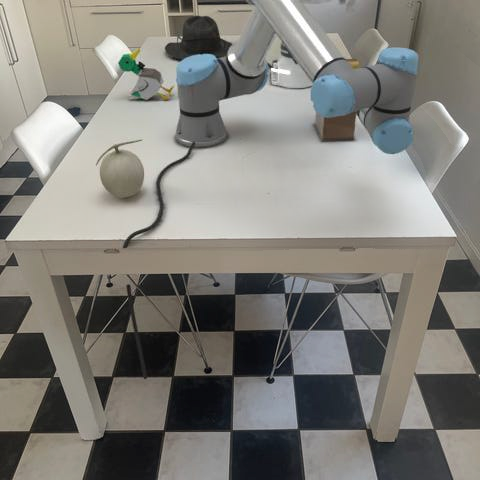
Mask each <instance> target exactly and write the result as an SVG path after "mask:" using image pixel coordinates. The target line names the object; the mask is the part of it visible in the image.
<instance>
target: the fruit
mask: <svg viewBox="0 0 480 480" xmlns="http://www.w3.org/2000/svg"><path fill="white" fill-rule="evenodd" d="M142 141H143V139H137V140H131V141H125V142H120V143H117V144H113V145H112V146H110V147H109V148H108V149H106V150H105V151H104V152H103V153H102V154H101V155H100V156H99V158H98V159H97V160H96V163H95V166H96V167H97V166H98V165H99V163H100V166H99V179H100V181H101V184H102V186H103V188H104V189H105V190H106V192H108V193H109V194H110V195H112V196H113V197H116V198H122V199H123V198H129V197H132V196H134V195H136V194H137V193H138V192H139V191H140V190H141V188H142V186H143V184H144V182H145V181H144V180H145V169H144V165H143V163H142V161H141V159H140V158H139V156H138V155H137V154H136V153H134V152H133V151H130V150H128V149H119V147H122V146H125V145H129V144H134V143H138V142H142ZM113 149H114V151H111V150H113ZM110 151H111V152H110ZM109 152H110V153H109ZM100 161H101V162H100Z"/></svg>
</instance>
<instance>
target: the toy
mask: <svg viewBox="0 0 480 480" xmlns="http://www.w3.org/2000/svg"><path fill="white" fill-rule="evenodd" d="M140 52H141V49H140V47H138V48H137V49H135V50H134V51H133V52H131V53H124V54H122V56H121V57H120V59H119V61H118V63H117V64H118V66H119V69H120V70H121V71H123V72H124V73H125V72H127V73H128V72H129V73H130V72H132V73H133V74H135V75H136V76H138V79H137V81H136V83H135V86H134V87H133V88H132V90H131V92H130V95H131V97H130V100H138V99H143V100H146V101H148V100H149V99H150V98H152V97H153V96H154V95H156V94H157V95H158V96H159V97H161V98H163V99H164V100H166V101H167V100H168V98H169V97H170V96H171V94H172V90H173V89H174V87H175V85H172V86H171V87H170V88H166V87H165V86H162V85H163V83H164V78H163V76H162V75H163V74H162V73H161V72H160V71H159V70H157V69H156V68H149V67H146V64H145V63H143V62H142V61H140V60H139V61H138V63H137V61H136V59H137V57H138V55H139V54H140ZM160 89H162V90H164V91H165V92H167V93H168V94H166V95H164V94H162V93H160V92H159V90H160Z"/></svg>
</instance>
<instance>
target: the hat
mask: <svg viewBox="0 0 480 480" xmlns="http://www.w3.org/2000/svg"><path fill="white" fill-rule="evenodd" d="M179 40H180V41H179ZM233 44H234V43H232V42H230V41H227V40H226V39H223V38H221V33H220V30H219V26H218V24H217V22H216V20H215V19H214V18H212V17H211V16H208V15H202V16H201V15H191V16H190V17H188V18H186V19H185V20H184V22H183V25H182V36H181V37H180V36H179V35H178V36H177V38H176V42H168V43H167V44H165V46H164V51H165V52H166V54H167V55H168V56H170V57H172V58H175V59H177V60H183V59H185V58H187V57H190V56H193V55H198V54H200V55H202V54H211V55H214V56H215V57H216V58H222V57H225V56H226V55H227V52H228V50H229V48H230V47H229V46H228V45H230V46H232V45H233Z"/></svg>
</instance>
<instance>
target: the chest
mask: <svg viewBox="0 0 480 480" xmlns="http://www.w3.org/2000/svg"><path fill="white" fill-rule="evenodd" d="M356 121H357V114H356V112H352V113H349V114H347V115H344V116H336V117H330V118H326V117H322V116H320V115H319V114H318V113H317V112H316V111H315V118H314V127H315V128H316V130H317V133H318V135H319V138H320V139H321V141H322V142H345V141H346V142H347V141H349V142H350V141H354V138H355V129H356Z"/></svg>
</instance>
